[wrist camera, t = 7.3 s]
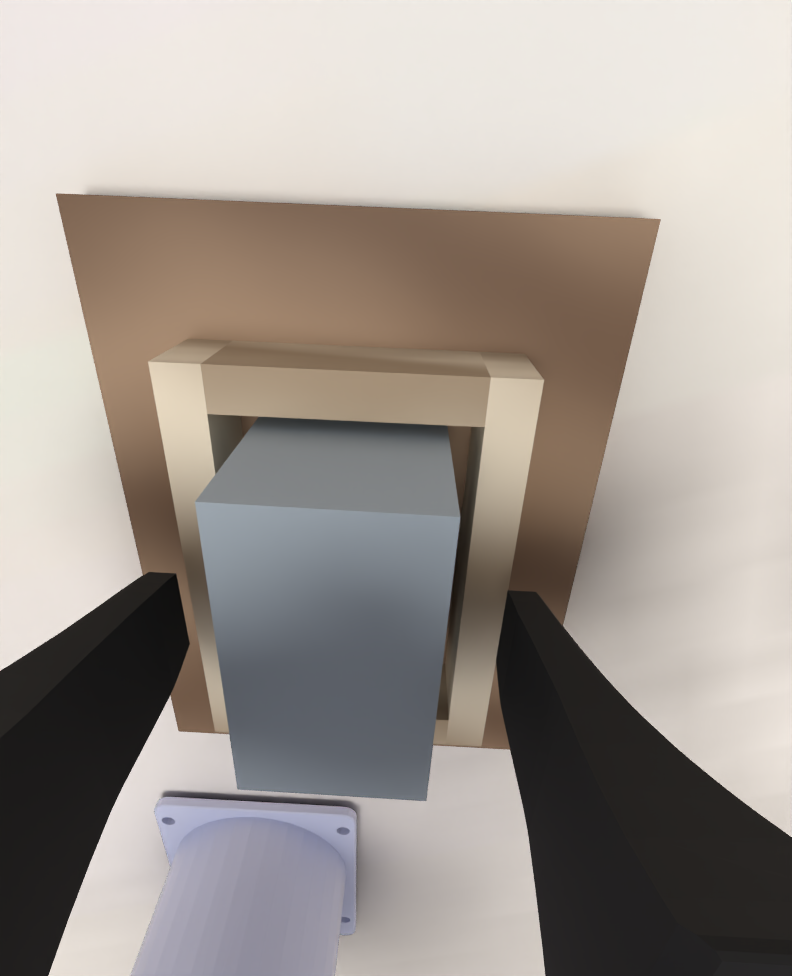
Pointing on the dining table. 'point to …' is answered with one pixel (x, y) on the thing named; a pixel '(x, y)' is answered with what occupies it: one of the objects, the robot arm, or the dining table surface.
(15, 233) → the dining table surface
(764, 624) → the dining table surface
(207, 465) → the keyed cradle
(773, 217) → the dining table surface
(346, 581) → the key block
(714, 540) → the dining table surface
